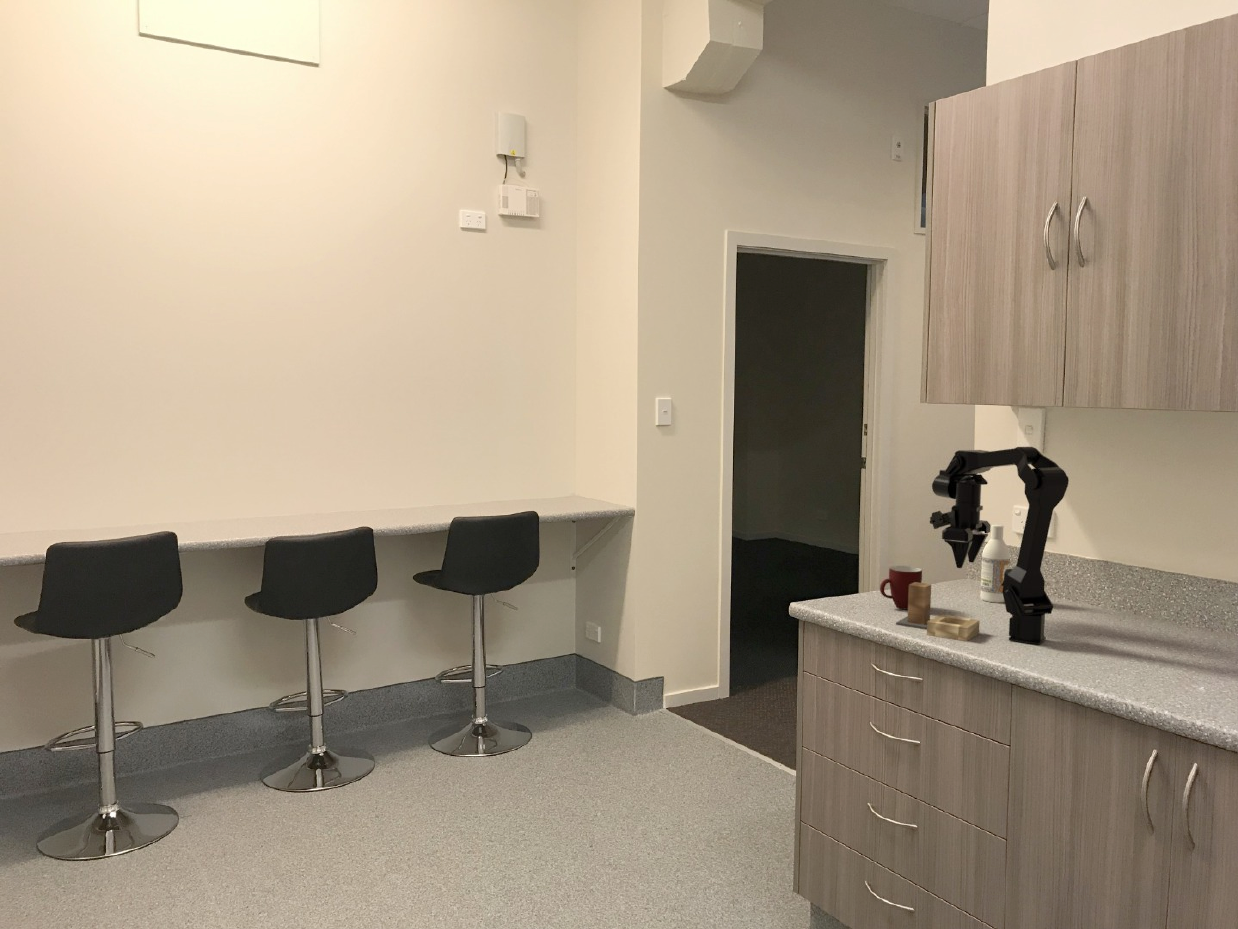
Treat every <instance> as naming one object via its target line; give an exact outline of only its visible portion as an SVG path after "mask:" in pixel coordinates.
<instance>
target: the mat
mask: <svg viewBox="0 0 1238 929" xmlns="http://www.w3.org/2000/svg"><path fill="white" fill-rule="evenodd" d="M930 620H931V618H930ZM895 625H896V626H897V625H898V626H905V627H910V628H916V629H922V630H927V623H926V624H924V625H923V624H916V623H910V622H908V615H907V616H905V617H903V618H902V619H900V620H898V621H896V622H895Z"/></svg>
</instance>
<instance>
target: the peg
mask: <svg viewBox="0 0 1238 929" xmlns="http://www.w3.org/2000/svg"><path fill="white" fill-rule="evenodd" d="M931 600H932V584H930V583H925V582H921V583H918V582H914V583H912V584H910V585H909V594H908V609H907V616H908V622H910V623H916V624H923V625H924V624H926V623H927V622H928V621H930V619H931V603H932V602H931Z"/></svg>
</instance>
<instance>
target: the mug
mask: <svg viewBox="0 0 1238 929" xmlns="http://www.w3.org/2000/svg"><path fill="white" fill-rule="evenodd" d="M922 581H923V569H922V568H919V567H915V566H911V565H910V566H908V565H894V566H890V567H889V569H888V578H885V579H883V581H881V584H879V585H880V586H879V591H880V594H881V595H882V596H883V597H884V598H887V599H890V600H892V601H893V603H894V606H895V607H896V608H897V609H900V610H908V594H909V585H910V584H912V583H914V582H918V583H923V582H922ZM887 584H889V589H890V595H888V594H886V592H885V587H886V585H887Z"/></svg>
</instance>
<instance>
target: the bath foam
mask: <svg viewBox="0 0 1238 929" xmlns="http://www.w3.org/2000/svg"><path fill="white" fill-rule="evenodd" d="M1006 569H1011V553H1010V550H1009V547H1008V546H1007V543H1006V542H1005V540H1004V525H1002V524H991V527H990V539H989V540H988V542H987V543H986V544H985V546H984V548H983V551H982V555H981V571H980V572H981V573H980V596H979V597H980V599H981V600H983V601H985V602H987V603H988V602H989V603H998V604H1000V603H1001V604H1003V603H1005V602H1004V597H1003V592H1002V591H1003V586H1001V584H1002V583H1003V580H1004V573H1005V570H1006Z"/></svg>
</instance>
